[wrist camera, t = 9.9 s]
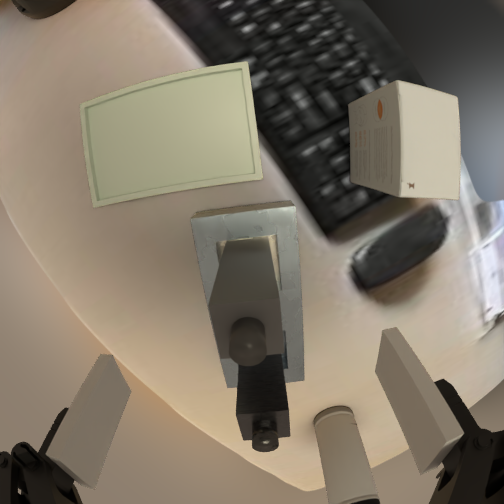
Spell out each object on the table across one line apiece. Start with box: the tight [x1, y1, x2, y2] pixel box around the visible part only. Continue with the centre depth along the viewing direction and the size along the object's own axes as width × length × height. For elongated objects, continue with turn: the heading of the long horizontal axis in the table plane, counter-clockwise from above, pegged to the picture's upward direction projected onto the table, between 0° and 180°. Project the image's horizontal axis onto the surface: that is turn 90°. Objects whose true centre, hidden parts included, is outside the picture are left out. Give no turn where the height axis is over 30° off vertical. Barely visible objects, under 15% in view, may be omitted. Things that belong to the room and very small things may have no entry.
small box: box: [348, 80, 461, 200], centre depth 20 cm, size 8×6×10 cm
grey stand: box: [190, 201, 304, 452], centre depth 23 cm, size 20×9×15 cm, turn 7°
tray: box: [80, 62, 263, 208], centre depth 24 cm, size 11×17×1 cm, turn 97°
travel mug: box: [314, 406, 380, 504], centre depth 28 cm, size 6×7×20 cm
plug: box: [208, 237, 284, 366], centre depth 21 cm, size 4×4×14 cm
